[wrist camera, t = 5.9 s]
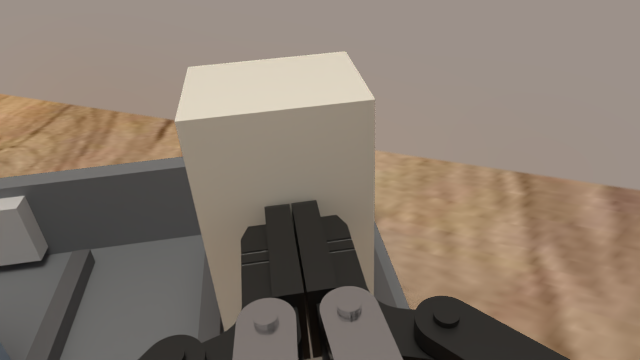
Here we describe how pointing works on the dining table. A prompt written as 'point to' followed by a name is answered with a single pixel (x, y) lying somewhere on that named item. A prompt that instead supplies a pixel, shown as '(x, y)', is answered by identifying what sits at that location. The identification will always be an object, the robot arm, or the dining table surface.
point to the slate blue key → (3, 353)
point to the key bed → (113, 263)
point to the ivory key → (276, 154)
